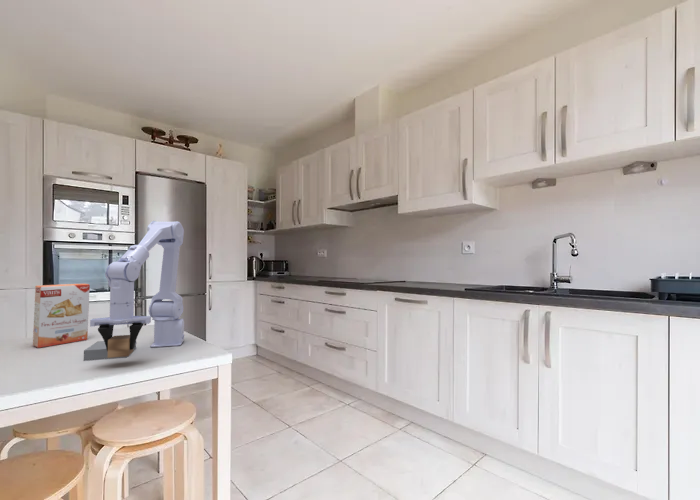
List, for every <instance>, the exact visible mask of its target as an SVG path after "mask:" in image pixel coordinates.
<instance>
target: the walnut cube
mask: <svg viewBox="0 0 700 500" xmlns="http://www.w3.org/2000/svg"><path fill="white" fill-rule="evenodd" d="M133 352H134V350H133V349H132V350H130V334H120V335H112V338H110V339H109V340H108V358H113V357H126V356H128V357H129V356H131V354H132V353H133Z"/></svg>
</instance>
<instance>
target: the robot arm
mask: <svg viewBox="0 0 700 500" xmlns="http://www.w3.org/2000/svg"><path fill="white" fill-rule="evenodd" d="M146 230H147V231H146V234H145V235H144V236H143V238H142V239H141V240H140V242H139V243H138V244H133V245H130V247H129V248H128V249H127V250H126V252H125V253H123V255H122V256H121V257H120V258H119V259H118V260H117V261H113V262H111V263H110V264H108V266H107V267H106V270H105V271H104V275H105V277H106V278H105V279H106V280H107V286H108V287H109V288H110V289H109V317H97V318H91V319H90V320H89V321H90V322H89V327H91V328H92V327H96V326H98V328H97V331H98V333H99V334H100V336H101V337H102V339H103V340H102V341H104V342H105V345H106V349H107V351H108V340H109V339H110V338H112V337H113V336H114V335H113V334H114V326H119V325H130V326H128V328H129V329H128V330H129V335H130V350H132V349H134V347H135V342H136V343H137V339H138V336H139V334H140V331H141V329H142V327H143V326H144V324H146V325H148V324H151V323H152V322H151V321H154V322H153V323H154V324H153V325H154V327H153V329H154V330H153V342H152V344H151V345H150V348H159V347H161V348H163V347H174V346H176V347H177V346H181V345H182V343H183V342H184V341H185V334H184V333H185V320H184V318H181V316H182V315H183V312H184V304H183V301H184V299H183V297H182V296H181V295H180V294H178V293H177V292H176V289H177V279H178V269H179V258H180V249H181V246H182V245H183V242H184V235H185V229H184V227H183V224H182V223H181V222H180V221H177V220H176V221H157V220H153V221H152V220H151V221H150V223H149V224H148V225H147V227H146ZM156 245H159V246H161V247H162V248H163V254H162V262H161V263H162V264H161V271H160V272H161V273H160V282H159V291H158V292H157V293H156V294H154V295H153V296H152V297H151V302H150V304H149V306H148V314H149V315H134V312H135V311H134V305H135V300H134V299H135V281H136V280H137V279H138V278H139V276H140V271H142V270H141V269H142V266H143V265H144V264H145V263H146V261H147V260H148V258H149V257H150V250H152V248H154V247H155V246H156ZM134 350H135V349H134Z"/></svg>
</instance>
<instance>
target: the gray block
mask: <svg viewBox="0 0 700 500" xmlns="http://www.w3.org/2000/svg"><path fill="white" fill-rule="evenodd" d="M136 349H137V341H136V342H135V347H134V349H133V351H135V350H136ZM128 357H129V356H126V357H113V358H108V351H107V349H106V345H105V342H104V340H98V341H96V342H94V343H92V345H90V346H88V347H87V348H85V349H84V350H83V362H86V361H88V362H89V361H99V360H110V359H111V360H113V359H126V358H128Z"/></svg>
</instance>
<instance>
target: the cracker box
mask: <svg viewBox="0 0 700 500" xmlns="http://www.w3.org/2000/svg"><path fill="white" fill-rule="evenodd" d="M90 286H91V285H90V284H89V283H62V284H61V283H60V284H44V285H41V284H40V285H35V287H34V288H35V289H34V290H35V291H34V307H33V309H34V311H33V315H34V316H33V329H32V330H33V331H32V333H33V334H32V346H34V347H36V348H37V349H41V348H46V347H51V346H57V345H58V346H59V345H63V344H70V343H75V342H81V341H82V342H83V341H87V340H88V334H89V333H88V331H89V312H90V310H89V309H90Z"/></svg>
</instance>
